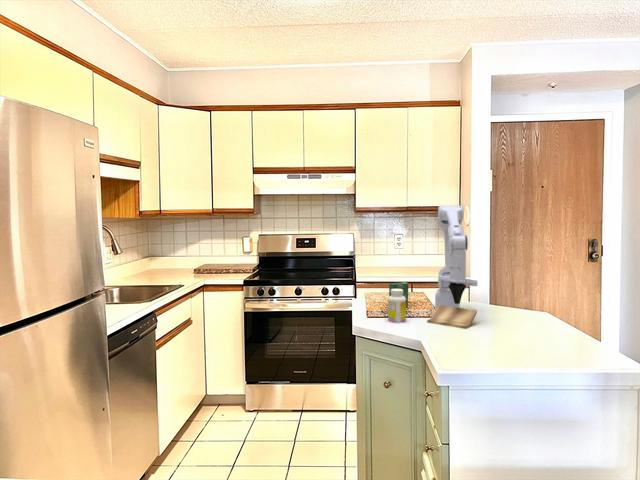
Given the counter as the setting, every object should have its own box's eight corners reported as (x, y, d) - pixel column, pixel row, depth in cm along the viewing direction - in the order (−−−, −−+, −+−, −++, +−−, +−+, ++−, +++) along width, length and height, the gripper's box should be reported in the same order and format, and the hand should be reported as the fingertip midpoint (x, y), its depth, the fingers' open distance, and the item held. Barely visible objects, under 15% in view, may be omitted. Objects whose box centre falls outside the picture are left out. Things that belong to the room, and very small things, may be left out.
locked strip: (427, 322, 179) (427, 319, 179) (429, 321, 180) (429, 318, 180) (466, 329, 169) (466, 326, 169) (468, 327, 171) (468, 325, 171)
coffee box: (404, 312, 199) (404, 281, 198) (408, 314, 196) (408, 282, 195) (388, 315, 195) (388, 283, 194) (392, 316, 192) (392, 284, 191)
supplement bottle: (405, 321, 185) (405, 288, 184) (406, 325, 179) (406, 291, 178) (387, 320, 186) (387, 288, 185) (388, 325, 179) (388, 291, 178)
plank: (430, 320, 181) (430, 318, 181) (439, 306, 186) (438, 304, 186) (469, 327, 172) (469, 324, 171) (477, 312, 177) (476, 310, 176)
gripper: (434, 267, 181) (434, 302, 182) (472, 270, 172) (471, 307, 173) (443, 265, 187) (442, 299, 188) (479, 268, 177) (479, 304, 179)
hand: (457, 303), depth 181 cm, fingers closed
